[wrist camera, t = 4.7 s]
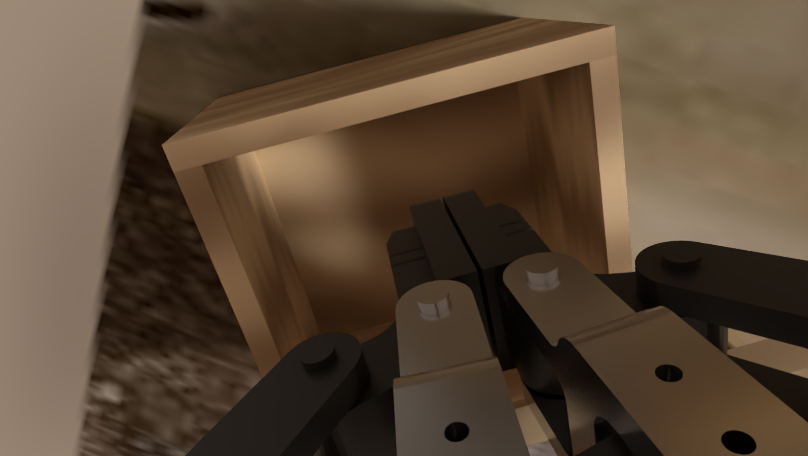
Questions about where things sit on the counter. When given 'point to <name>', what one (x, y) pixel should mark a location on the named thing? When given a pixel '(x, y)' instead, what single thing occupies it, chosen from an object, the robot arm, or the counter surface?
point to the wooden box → (402, 170)
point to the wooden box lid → (757, 352)
